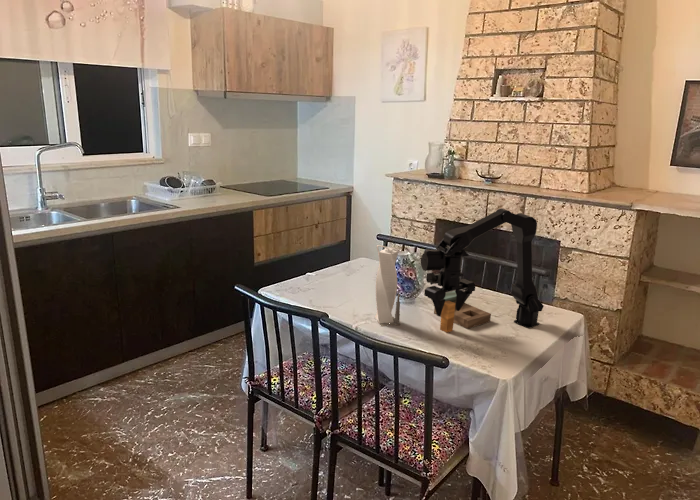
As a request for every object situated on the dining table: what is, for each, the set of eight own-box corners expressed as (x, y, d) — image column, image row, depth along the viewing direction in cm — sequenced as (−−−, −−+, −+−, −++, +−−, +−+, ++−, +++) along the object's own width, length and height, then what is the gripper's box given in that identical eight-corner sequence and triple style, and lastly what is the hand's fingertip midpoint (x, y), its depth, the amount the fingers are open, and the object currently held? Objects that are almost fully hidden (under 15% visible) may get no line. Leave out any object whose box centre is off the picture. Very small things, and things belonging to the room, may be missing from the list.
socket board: (491, 321, 187) (493, 303, 185) (466, 329, 179) (468, 310, 177) (456, 306, 199) (458, 289, 198) (432, 313, 192) (433, 295, 190)
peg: (452, 330, 177) (455, 303, 175) (446, 332, 176) (449, 305, 173) (446, 327, 180) (448, 300, 177) (440, 329, 178) (442, 302, 175)
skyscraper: (377, 327, 179) (381, 248, 171) (369, 318, 186) (373, 242, 179) (400, 325, 181) (405, 247, 173) (392, 316, 188) (396, 241, 181)
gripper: (453, 258, 184) (450, 300, 188) (414, 266, 173) (411, 310, 177) (478, 267, 175) (473, 310, 179) (438, 276, 164) (434, 322, 168)
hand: (448, 313), depth 176 cm, fingers open, 9 cm apart
